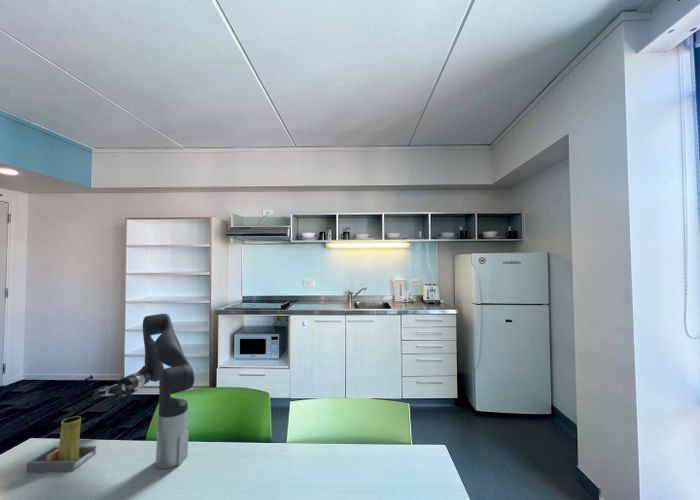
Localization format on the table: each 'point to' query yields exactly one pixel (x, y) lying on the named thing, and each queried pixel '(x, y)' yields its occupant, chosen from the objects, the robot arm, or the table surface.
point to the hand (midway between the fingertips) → (103, 397)
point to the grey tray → (60, 466)
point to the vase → (69, 439)
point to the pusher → (52, 456)
